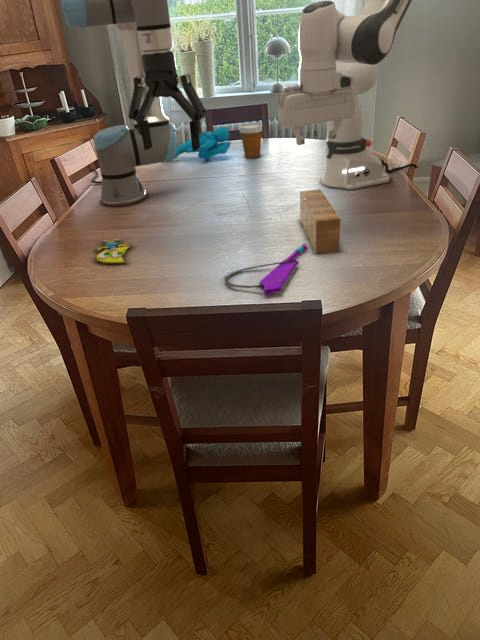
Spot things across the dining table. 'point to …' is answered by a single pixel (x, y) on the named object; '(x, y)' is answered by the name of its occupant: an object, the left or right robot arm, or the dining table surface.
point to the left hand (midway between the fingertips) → (172, 149)
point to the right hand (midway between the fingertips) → (316, 141)
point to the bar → (319, 221)
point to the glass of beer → (251, 139)
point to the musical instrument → (275, 273)
